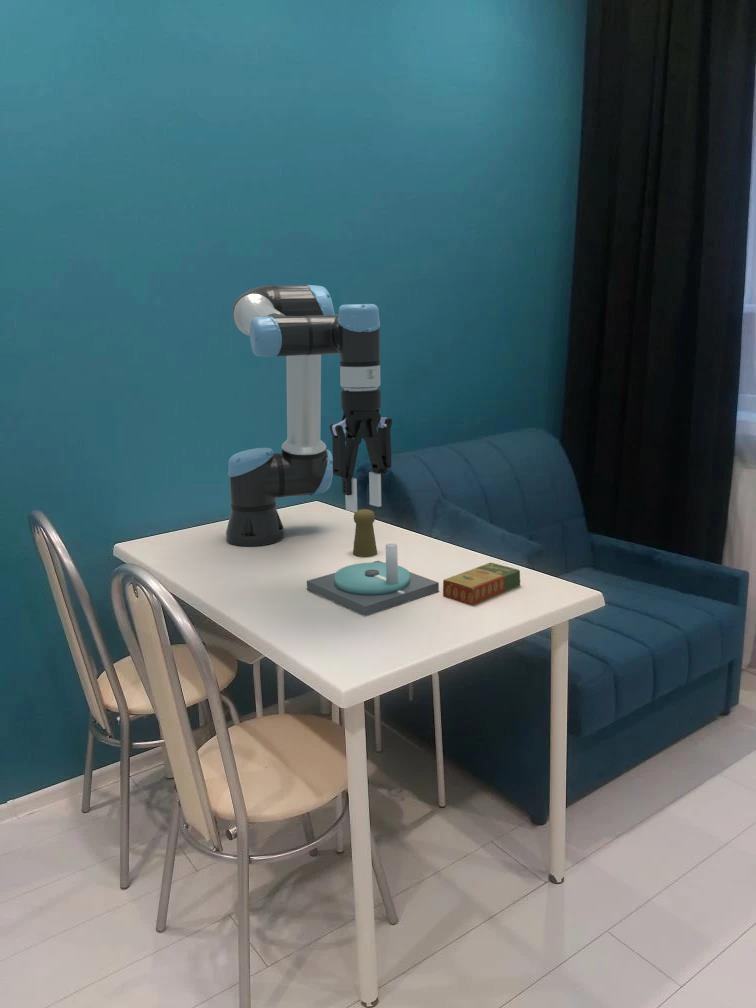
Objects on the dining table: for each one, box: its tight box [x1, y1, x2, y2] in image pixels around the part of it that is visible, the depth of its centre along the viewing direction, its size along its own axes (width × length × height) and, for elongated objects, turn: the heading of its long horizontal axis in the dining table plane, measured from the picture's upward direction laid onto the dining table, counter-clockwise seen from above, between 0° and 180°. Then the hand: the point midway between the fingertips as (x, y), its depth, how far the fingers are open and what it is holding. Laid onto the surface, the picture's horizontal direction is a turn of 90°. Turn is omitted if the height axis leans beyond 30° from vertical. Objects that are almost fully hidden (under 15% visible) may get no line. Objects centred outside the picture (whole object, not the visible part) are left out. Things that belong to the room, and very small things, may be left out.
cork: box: [352, 508, 378, 558], centre depth 190 cm, size 6×6×11 cm
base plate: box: [306, 560, 440, 617], centre depth 166 cm, size 20×20×2 cm
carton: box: [442, 562, 521, 607], centre depth 165 cm, size 8×16×4 cm, turn 134°
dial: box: [334, 543, 410, 595], centre depth 165 cm, size 16×16×10 cm
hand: (363, 507), depth 152 cm, fingers open, 5 cm apart
